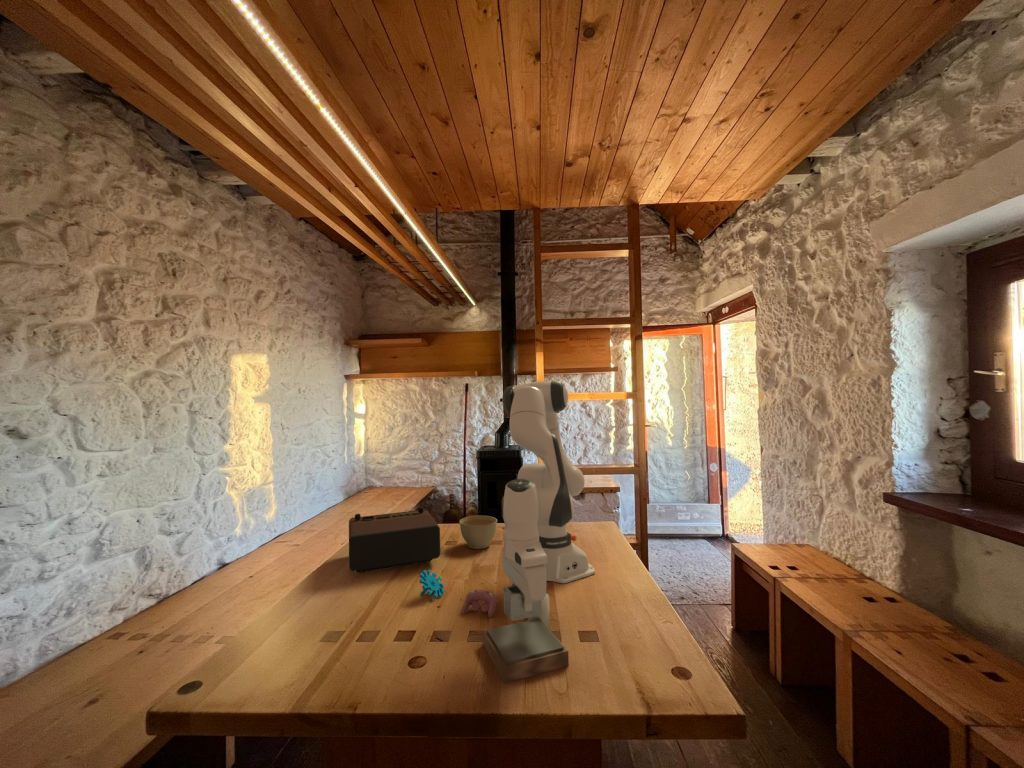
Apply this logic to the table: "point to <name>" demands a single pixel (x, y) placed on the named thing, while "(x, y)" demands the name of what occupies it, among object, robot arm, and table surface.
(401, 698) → the table surface
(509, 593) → the housing
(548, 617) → the pale grey capsule
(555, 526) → the robot arm
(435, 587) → the gear
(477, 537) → the planter bowl
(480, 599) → the video game controller
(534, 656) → the plinth
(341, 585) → the table surface
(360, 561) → the radio receiver
